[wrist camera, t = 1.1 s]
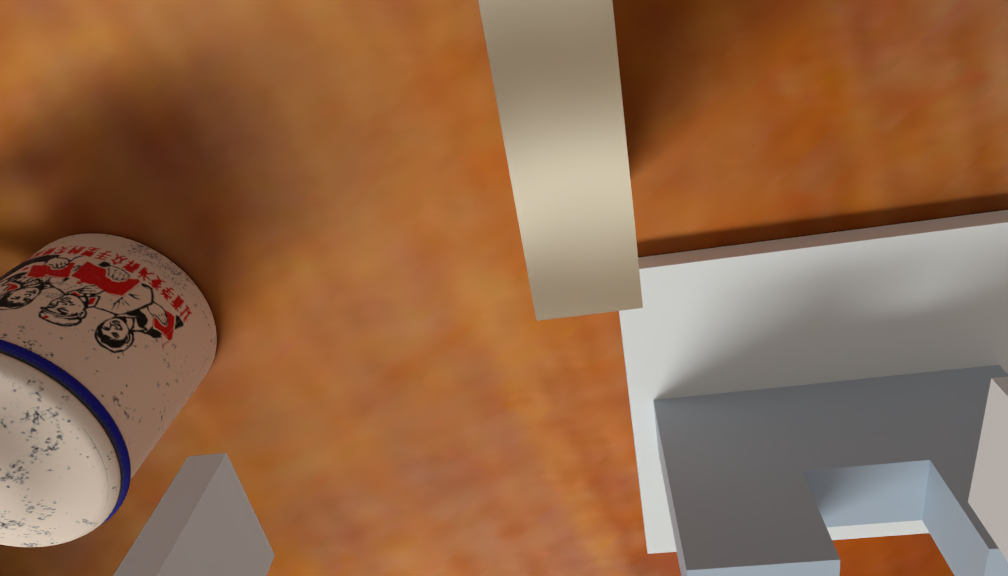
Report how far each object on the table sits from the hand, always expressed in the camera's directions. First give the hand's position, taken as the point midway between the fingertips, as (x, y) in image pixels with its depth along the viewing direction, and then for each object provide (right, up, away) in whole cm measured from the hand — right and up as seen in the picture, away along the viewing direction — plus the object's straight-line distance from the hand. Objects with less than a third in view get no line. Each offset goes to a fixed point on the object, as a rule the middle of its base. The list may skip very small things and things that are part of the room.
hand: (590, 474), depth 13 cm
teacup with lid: (-20, +3, +19) cm, 28 cm away
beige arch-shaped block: (0, +13, +12) cm, 18 cm away
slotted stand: (+12, -2, +19) cm, 23 cm away
